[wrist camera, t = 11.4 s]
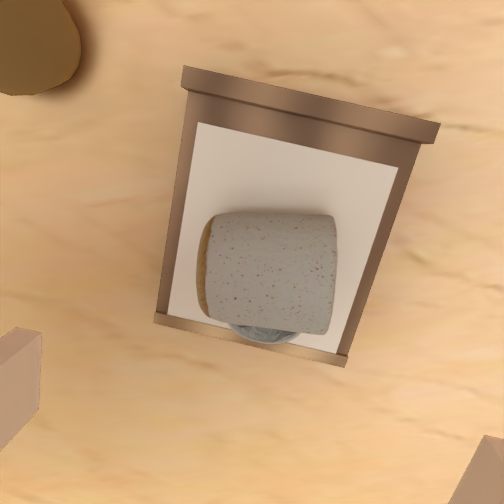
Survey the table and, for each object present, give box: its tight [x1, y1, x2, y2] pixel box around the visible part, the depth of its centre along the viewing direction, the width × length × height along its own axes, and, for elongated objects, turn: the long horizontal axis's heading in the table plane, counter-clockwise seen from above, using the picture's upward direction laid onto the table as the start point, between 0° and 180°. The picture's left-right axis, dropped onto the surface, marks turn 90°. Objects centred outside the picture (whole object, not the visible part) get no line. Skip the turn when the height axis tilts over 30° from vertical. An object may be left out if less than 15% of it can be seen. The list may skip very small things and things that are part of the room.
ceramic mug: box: [196, 212, 338, 344], centre depth 23 cm, size 11×8×8 cm
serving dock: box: [153, 65, 441, 368], centre depth 27 cm, size 16×19×5 cm
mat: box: [167, 122, 398, 354], centre depth 26 cm, size 14×15×1 cm
